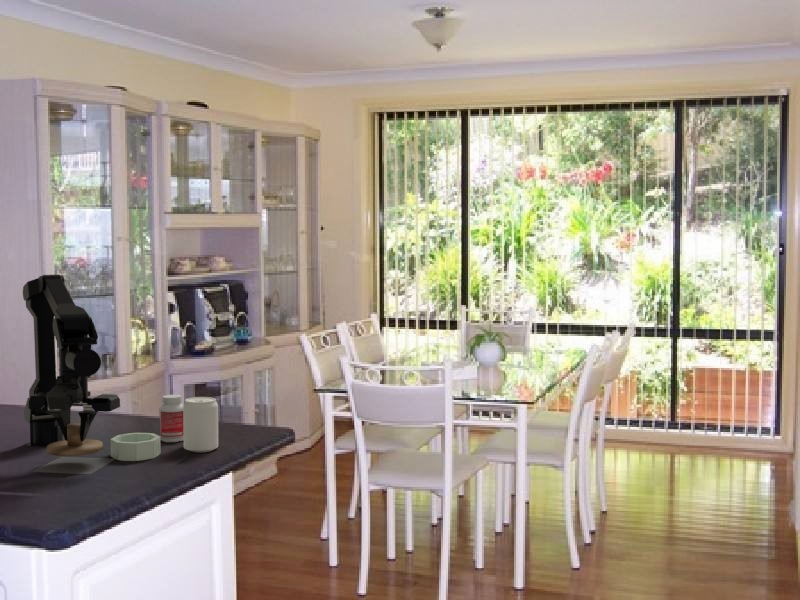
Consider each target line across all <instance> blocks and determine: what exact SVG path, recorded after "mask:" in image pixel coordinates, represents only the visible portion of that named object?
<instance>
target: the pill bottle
mask: <svg viewBox="0 0 800 600" xmlns="http://www.w3.org/2000/svg"><path fill="white" fill-rule="evenodd" d="M182 402H183V396H182V395H181V394H165V395H162V403H163V404H162V405H160V406H159V436H160V442H164V443H179V441H180V442H182V441H183V442H184V440H183V405H184V403H182Z"/></svg>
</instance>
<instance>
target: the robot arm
mask: <svg viewBox="0 0 800 600" xmlns="http://www.w3.org/2000/svg"><path fill="white" fill-rule="evenodd" d="M65 283H66V282H65V278H64V276H63V275H61V274H42V275H39V276H38V278H35V279H32V280H29V281H27V282H26V283H25V284H24V285H23V288H22V298H23V301H25V307H26V310H27V311H28V312H29V314H30V315H31V317H32V318H33V333H34V334H33V335H34V336H33V337H34V338H33V339H34V359H35V361H34V362H35V363H34V364H35V365H34V366H35V367H34V368H35V378H34V381H33V383H32V384H31V386H30V388H29V390H28V397H27V400H26V403H25V407H24V410H23V414H24V416H23V417H24V421H25V422H27V423H28V424H29V437H30V438H29V440H30V441H29V443H27V444H26V447H28V446H29V447H46V448H47V446H48V445H49V444H51V443H54V442H58V441H63V440H65V441H67V425H68V424H71V411H72V410H71V409H72V407H82V410H80V411H79V412H78V415H79V418H80V423H81V424H80V438H81V441H84V440H85V439H87V436H88V434H89V430H90V429H91V425H92V424H93V422H94V419H95V417H96V416H97V414H98V413H99V412H104V413H106V412H107V413H109V412H111V411H112V412H113V411H114V410H117V409H118V408H121V399H120V397H119V395H118V394H110V393H109V394H107V393H106V394H104V393H102V394H99V395H97V396H95V397H91V390H90V391H89V387H88V386H89V385H88V384H89V382H88V381H89V379H90V378H91V377H92V376H94V375H95V374H96V373H98V372H99V369H100V368H101V365H102V360H101V357H100V355H99V354H98V352H97V351H95V350H93V349H92V346H93V345H94V346H95V345H98V338H99V335H98V332H97V329H96V326H95V323H94V322H93V319H92V317H91V316H90V315H89V313H88V312H87V310H86V309H85V308H83V307H81V306H79V305H76V304H75V302H74V299H73V298H72V296H71V293H70V292H69V291H68V290H69V289H68V288H67V286H66V284H65ZM56 342H57V346H59V352H58V354H59V357H58V358H59V375H57V369H56V368H57V367H56V366H57V365H56V363H57V362H56V361H57V360H56ZM63 438H64V439H63Z"/></svg>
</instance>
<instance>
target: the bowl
mask: <svg viewBox="0 0 800 600" xmlns="http://www.w3.org/2000/svg"><path fill="white" fill-rule="evenodd" d="M159 455H161V440H160V435H158V434H156V433H154V432H151V433H150V432H131V433H122V434H117V435H116V436H114V437H112V438H110V457H111V458H112V459H116V460H117V461H123V462H137V461H138V462H139V461H146V460H152V459H154V458H157V457H158V456H159Z"/></svg>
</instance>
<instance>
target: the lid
mask: <svg viewBox="0 0 800 600" xmlns="http://www.w3.org/2000/svg"><path fill="white" fill-rule="evenodd" d="M80 424H81V422H72V423H70V424H68V425H67V441H65V439H63V441H58V442H54V443H51V444H49V445H48V446H47V447H46V453H47V454H49V455H51V456H59V457H79V456H86V455H90V454H94V453H98V452H101V451H102V450H103V448H104V443H103V442H102V441H101V440H99V439H98V440H97V439H92V438H91V439H90V438H85V440H84V441H81V438H80Z"/></svg>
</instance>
